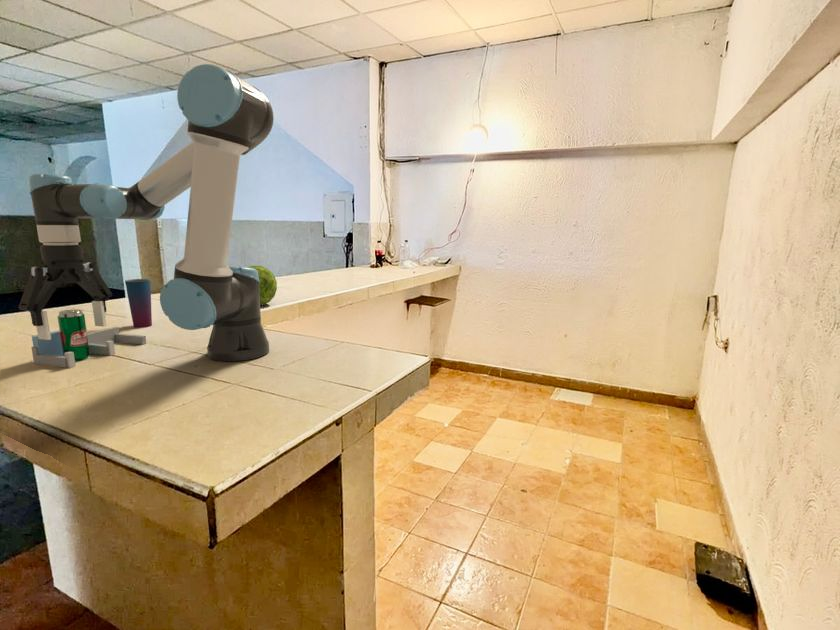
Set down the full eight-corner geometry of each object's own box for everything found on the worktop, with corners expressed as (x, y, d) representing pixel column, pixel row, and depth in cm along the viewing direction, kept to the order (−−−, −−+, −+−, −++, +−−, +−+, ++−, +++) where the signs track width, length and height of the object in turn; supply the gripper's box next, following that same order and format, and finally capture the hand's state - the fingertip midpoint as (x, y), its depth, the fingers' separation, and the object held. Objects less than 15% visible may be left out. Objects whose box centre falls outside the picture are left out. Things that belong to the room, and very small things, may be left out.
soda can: (75, 362, 102) (68, 313, 100) (58, 360, 103) (51, 312, 101) (95, 356, 107) (89, 309, 105) (78, 354, 108) (72, 308, 106)
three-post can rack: (148, 343, 119) (145, 321, 118) (70, 367, 99) (66, 340, 97) (116, 340, 122) (113, 318, 120) (33, 363, 101) (29, 336, 100)
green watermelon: (250, 313, 191) (271, 284, 196) (265, 313, 172) (288, 281, 177) (217, 291, 183) (240, 261, 188) (229, 288, 164) (255, 256, 169)
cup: (159, 325, 140) (154, 280, 136) (136, 329, 134) (131, 282, 131) (148, 322, 143) (143, 278, 140) (126, 326, 137) (120, 280, 134)
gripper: (98, 241, 112) (109, 320, 116) (-16, 245, 88) (3, 344, 93) (121, 242, 110) (131, 322, 115) (12, 246, 87) (30, 346, 91)
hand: (74, 332), depth 104 cm, fingers open, 13 cm apart
